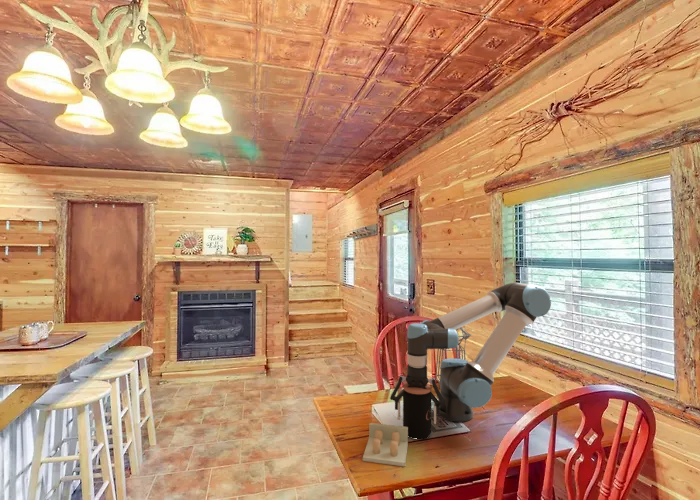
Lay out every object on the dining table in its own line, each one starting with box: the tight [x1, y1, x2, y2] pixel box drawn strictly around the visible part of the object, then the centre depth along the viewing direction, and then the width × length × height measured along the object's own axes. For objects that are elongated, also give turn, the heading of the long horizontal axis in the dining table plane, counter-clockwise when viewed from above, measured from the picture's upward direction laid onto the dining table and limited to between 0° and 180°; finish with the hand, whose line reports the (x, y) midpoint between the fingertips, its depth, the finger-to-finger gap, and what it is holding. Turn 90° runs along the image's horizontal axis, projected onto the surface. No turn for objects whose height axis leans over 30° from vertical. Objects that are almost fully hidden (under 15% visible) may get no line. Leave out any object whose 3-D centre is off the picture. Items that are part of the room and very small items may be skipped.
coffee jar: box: [402, 382, 432, 440], centre depth 135 cm, size 11×11×18 cm
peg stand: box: [362, 422, 409, 467], centre depth 123 cm, size 14×14×6 cm
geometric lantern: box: [434, 327, 472, 389], centre depth 177 cm, size 16×16×35 cm
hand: (416, 420), depth 135 cm, fingers open, 13 cm apart
